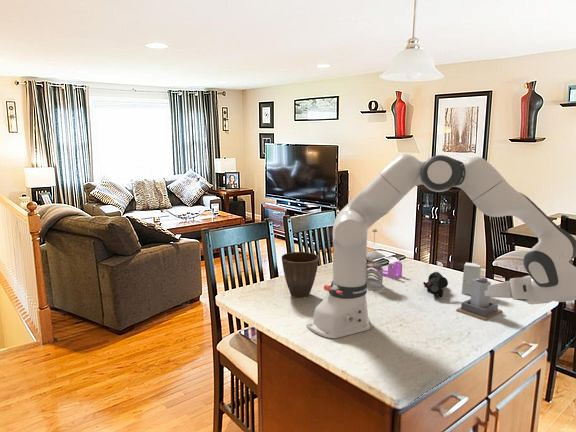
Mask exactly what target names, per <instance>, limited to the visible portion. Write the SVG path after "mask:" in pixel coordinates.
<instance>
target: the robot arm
mask: <svg viewBox="0 0 576 432" xmlns="http://www.w3.org/2000/svg"><path fill="white" fill-rule="evenodd" d="M420 185H421V186H423V187H425V188H427V189H428V190H429V191H431V192H437V193H441V192H445V191H446V192H447V191H448V190H450V189H452V188H459V189H461V190H463V192H464V193H465V194H466V195H467V196H468V197H469V199H470V201H472V204H474V205H475V207H476V208H477V209H478V210H479V211H480V212H481V213H483V214H484V215H485V216H487V217H488V216H489V217H492V218H500V217H501V218H502V217H507V216H510V217H515V218H518V219H519V220H520V221H522V222H523V224H525V225H526V226H527V227H528V228H529V229H530V230H531V231H532V232H533V233H534V234H535V235H536V237H537V239H538V242H537V243H535V245H534V246H532V247H531V249H530V250H528V252H527V253H525V254H524V256H523V260H522V262H523V266H524V268H525V271H526V272H527V273H528V275H525V276H521V277H513V278H510V279H509V280H506V281H501V282H497V283H491V285H489V286H488V290H487V291H485V296H489V297H490V298H503V299H512V300H514V301H520V302H525V303H527V304H528V305H541V304H543V305H544V304H549V303H551V302H558V303H562V302H563V303H565V302H571V301H576V266H575V265H574V264H571V263H570V262H571V261H572V260H573V259H575V258H576V238H575V237H574V236H573V235H572V234H571V233H570V232H568V231H566V230H564V229H563V228H562V227H560V226H559V225H558V224H556V223H555V222H554V221H553V220H552V219H551V218H550V217H549V216H548V215H547V214H546V213H545V212H544V211H543V210H542V209H541V208H539V206H538V205H537V204H536V203H534V202H533V201H532V200H531V199H530V197H528V196H527V195H525V194H523V193H522V192H519V191H518V190H516V189H515V187H513V186H511V184H510V183H509V182H508V181H506V179H505V178H504V176H503V175H501V173H500V172H499V171H498V170H497V169H496V168H495V167H494V166H493V164H491V163H489V162H488V161H487V160H486V159H484V158H483V157H481V156H474V157H470V158H467V159H466V160H464V161H460V160H458V159H455V158H453V157H450V156H447V155H443V154H442V155H441V154H437V155H434V156H431V157H429V158H428V159H427V160H426V161H420V160H419V159H418V158H417V157H415V156H414V155H411V154H406V153H404V154H401V155H399V156H397V157H396V158H395V159H394V160H392V161H391V162H390V163H388V164H387V165H386V166H385V167H384V168H382V170H381V171H380V172H378V174H377V175H375V177H374V178H373V179H372V180H371V181H370V182H369V183H368V184H367V185H366V186H365V187H364V188H363V190H361V191H360V192H359V193H358V194H356V196H354V197H353V198H352V199H351V201H349V202H348V203H347V204H346V205H345V206H344V207H343V208H342V209H341V210H340V211H339V212H338V213H337V214H336V216H335V219H334V222H333V227H332V255H333V257H332V259H333V261H332V262H333V264H332V266H333V267H332V268H333V269H332V273H333V274H332V280H331V283H330V285H329V284H327V283H325V284H324V286H323V290H324V291H326V292H328V294H327V295H326V296H325V297H324V298H322V301H321V302H320V303H319V304H318V305H317V306H315V308H314V310H313V311H314V313H313V318H312V319H310V320H308V321H307V322H306V327H307V329H309V330H310V331H312V332H313V333H315V334H317V335H318V336H319V335H320V337H325V338H328V339H338V338H342V337H345V336H350V335H355V334H358V333H363V332H366V331H369V330H371V324H370V319H369V314H368V313H369V312H368V310H369V309H368V304H367V298H366V296H367V293H368V289H367V283H366V263H367V257H366V253H367V248H368V246H367V245H368V231H369V230H368V229H370V227H372V226H374V224H375V223H376V222H378V221H379V220H380V219H382V217H385V216H386V215H387V214H389V213H390V211H391V210H393V208H395V206H396V205H398V203H400V202H401V200H402V199H403V198H404V197H405V196H406V195H408V193H409V192H410V191H412V189H414V188H415V187H418V186H420Z"/></svg>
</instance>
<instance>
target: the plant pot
mask: <svg viewBox="0 0 576 432" xmlns="http://www.w3.org/2000/svg"><path fill="white" fill-rule="evenodd" d="M319 259H320V257H319V255H318V254H315V253H312V252H308V251H297V252H296V251H294V252H287V253H285V254H282V255H281V263H282V269H283V275H284V278H285V282H286V286H287V288H288V291H289V293H290V297H293V298H297V299H305V298H308V297H309V296H310V294H311V291H312V288H313V286H314V283H315V279H316V277H317V276H316V275H317V271H318V266H319ZM304 297H305V298H304Z"/></svg>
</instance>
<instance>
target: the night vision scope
mask: <svg viewBox="0 0 576 432" xmlns="http://www.w3.org/2000/svg"><path fill="white" fill-rule="evenodd" d="M422 283H423V285H424V288H426V290H427V292H429V294H431V295H433V296H434V295H435V296H437V297H438V298H443V297H444V289H445V288H447V287H448V285H449V281H448V279H447V278H446V277H444V276H443V275H442V274H441V273H440V272H438V271H434V272H432V273H430V274H429V275H428V280H427V282H425V281H424V282H422Z"/></svg>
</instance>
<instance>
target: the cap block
mask: <svg viewBox="0 0 576 432" xmlns="http://www.w3.org/2000/svg"><path fill="white" fill-rule="evenodd" d="M489 285H492V282H491V281H488V278H486V277H482V276H480V277H476V278H475V279H474V280H472V287H471V295H470V299H471V301H470V304H471V305H474V306H477V307H480V308H483V309H484V308H486V307H489V301H490V298H491V297H489V296H485V291H487V290H488V286H489Z"/></svg>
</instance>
